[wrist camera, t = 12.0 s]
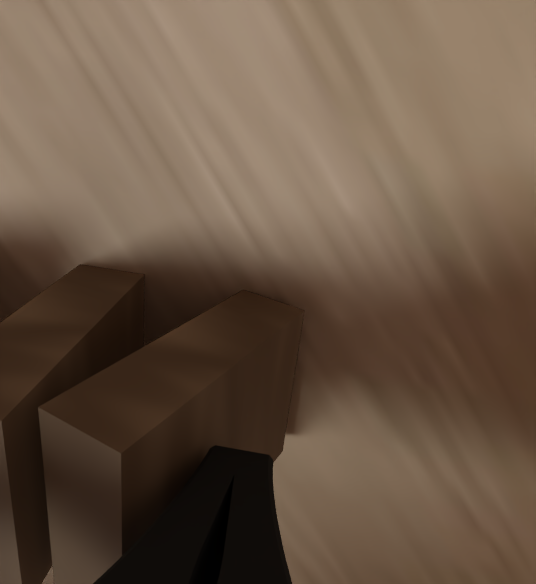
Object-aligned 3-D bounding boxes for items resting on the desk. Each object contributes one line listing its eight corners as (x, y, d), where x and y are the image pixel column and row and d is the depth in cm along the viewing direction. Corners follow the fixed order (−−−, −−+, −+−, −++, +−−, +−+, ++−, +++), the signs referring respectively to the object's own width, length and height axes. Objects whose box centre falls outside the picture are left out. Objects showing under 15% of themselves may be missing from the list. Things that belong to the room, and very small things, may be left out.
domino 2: (304, 310, 14) (120, 453, 8) (282, 451, 16) (123, 644, 10) (243, 289, 15) (38, 406, 9) (229, 426, 17) (55, 592, 11)
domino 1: (144, 274, 15) (0, 421, 9) (142, 410, 17) (25, 611, 11) (79, 264, 15) (-108, 401, 9) (85, 400, 17) (-64, 592, 11)
